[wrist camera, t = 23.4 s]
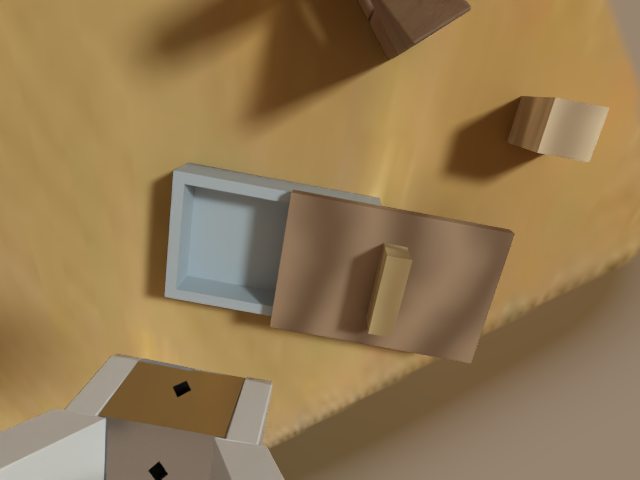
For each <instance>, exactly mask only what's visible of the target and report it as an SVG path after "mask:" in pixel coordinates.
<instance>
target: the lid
mask: <svg viewBox="0 0 640 480" xmlns="http://www.w3.org/2000/svg"><path fill="white" fill-rule="evenodd" d="M513 237H514V233H513V232H512V231H510V230H509V229H503V228H498V227H493V226H487V225H482V224H476V223H471V222H466V221H460V220H455V219H449V218H444V217H439V216H433V215H428V214H423V213H417V212H412V211H406V210H401V209H396V208H390V207H385V206H379V205H374V204H369V203H363V202H358V201H352V200H347V199H342V198H336V197H331V196H325V195H320V194H315V193H309V192H304V191H298V190H292V192H291V198H290V204H289V210H288V217H287V223H286V229H285V235H284V242H283V248H282V254H281V260H280V267H279V273H278V279H277V285H276V291H275V298H274V304H273V310H272V316H271V323H270V327H274V328H279V329H285V330H290V331H296V332H301V333H307V334H312V335H318V336H323V337H329V338H334V339H340V340H345V341H351V342H357V343H362V344H368V345H373V346H379V347H384V348H390V349H395V350H401V351H406V352H412V353H417V354H423V355H428V356H434V357H439V358H445V359H451V360H456V361H461V362H467V363H471V362H472V359H473V356H474V352H475V349H476V347H477V344H478V341H479V338H480V335H481V332H482V329H483V326H484V323H485V320H486V317H487V314H488V311H489V308H490V305H491V302H492V299H493V296H494V293H495V290H496V288H497V285H498V282H499V279H500V276H501V273H502V270H503V267H504V264H505V261H506V258H507V255H508V252H509V249H510V246H511V243H512V240H513Z"/></svg>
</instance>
